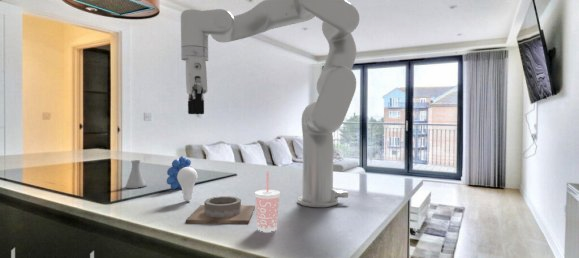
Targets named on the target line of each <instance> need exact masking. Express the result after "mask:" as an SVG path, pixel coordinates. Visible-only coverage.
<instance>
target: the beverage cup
mask: <svg viewBox="0 0 579 258" xmlns="http://www.w3.org/2000/svg"><path fill="white" fill-rule="evenodd" d="M269 174H270V172H269V171H266V189H260V190H259V189H258V190H256V191H255V192H254V196H255V201H256V205H255V206H256V217H257V218H256V219H257V231H259V230H260V231H259V232H261V231H263V232H262V233H272V232H271V231H274V232H276V231H277V229H278V216H279V215H278V214H279V202H280V201H279V200H280V196H281V191H279V190H276V189H269V188H270V186H269V185H270V184H269V182H270V181H269V179H270V176H269ZM275 230H276V231H275Z"/></svg>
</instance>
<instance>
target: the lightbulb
mask: <svg viewBox="0 0 579 258" xmlns="http://www.w3.org/2000/svg"><path fill="white" fill-rule="evenodd" d="M191 167H192V166H190V167H184V168H182V169H181V170H180V171H179V172H178V175H177V179H178V182H179V183H180V185H181V187H182V189H181V191H182V194H183V196H182V198H183V201H185V202H190V201H191V200H192V199H193V192H194V186H195V184H196V183H197V180H198V173H197V170H195V168H193V167H192V168H191Z"/></svg>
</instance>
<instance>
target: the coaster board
mask: <svg viewBox="0 0 579 258" xmlns="http://www.w3.org/2000/svg"><path fill="white" fill-rule="evenodd" d="M203 202H204V204H200V205H199V206H198V207H197V208H196V209H195V210H194V211H193V212H192V213H191V214H190V215H189V216H188V217H187V218H186V219H185V223H186V224H241V223H249V224H250V222H251V219H252V217H253V215H254V212H255V208H256V205H247V204H246V205H242V199H241V198H239V197H237V196H226V195H225V196H223V195H222V196H216V197H215V196H214V197H211V198H207V199H205V200H204V201H203ZM253 211H254V212H253Z"/></svg>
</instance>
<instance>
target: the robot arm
mask: <svg viewBox="0 0 579 258" xmlns="http://www.w3.org/2000/svg"><path fill="white" fill-rule="evenodd" d="M315 17H316V18H318V19H319V20H320V21H322V24H321V31H322V34H323V37H325V39H326V41H327V43H328V48H329V49H328V54H327V57H326V60H325V63H324V65H323V68H322V69H321V72H320V74H319V77H318V79H317V81H316V90H317V93H318V96H317V99H316V101H314V102H312V103H310V104H308V105H307V106H306V107H305V108H304V109H303V111H302V114H301V133H302V194H301V196H298V197H297V204H299V205H302V206H304V207H309V208H310V207H311V208H329V207H334V206H336V205H338V201H339V200H338V199H339V198H342V199H343V198H344V199H347V198H348V197H349V192H348V191H343V190H336V189H335V188H334V135H333V133H335V132H337V131H338V130H339V129H340V128H341V127H342V124H343V123H344V121H345V119H346V116H347V114H348V111H349V108H350V106H351V103H352V101H353V98H354V96H355V93H356V88H357V77H356V75H355V73H354V71H353V70H352V69H353V66H354V64H355V61H356V56H357V45H356V42H355V40H354V37H353V35H352V32H354V31H355V30H356V29H357V27H358V25H359V24H360V14H359V12H358V9H357V8H356V7H355V6H354V5H353V4H352V3H350V2H349V1H348V0H262V1H260V2H259V3H257V4H256V5H254V7H252V8H251V9H249V10H248V11H245V12H243V13H241V14H237V15H233V14H232V13H231V12H230V11H228V10H226V9H222V8H216V9H207V10H205V9H204V10H201V9H194V8H193V9H191V8H190V9H185V10H183V11H181V14H180V43H181V44H180V50H181V51H180V52H181V53H180V57H181V60H182V61H185V88H186V93H187V94H188V98H187V100H188V101H187V114H188V115H204V114H205V97H204V95H205V94H206V93H208V77H207V76H208V74H207V73H208V72H207V63H206V62H208V61H209V36H211V38H212V39H213V40H215V41H216V42H218V43H222V44H223V43H224V44H225V43H229V42H234V41H239V40H244V39H246V38H250V37H253V36H255V35H259V34H262V33H266V32H268V31H270V30H274V29H278V28H282V27H286V26H291V25H295V24H299V23H305V22H307V21H310V20H313V18H315Z"/></svg>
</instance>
